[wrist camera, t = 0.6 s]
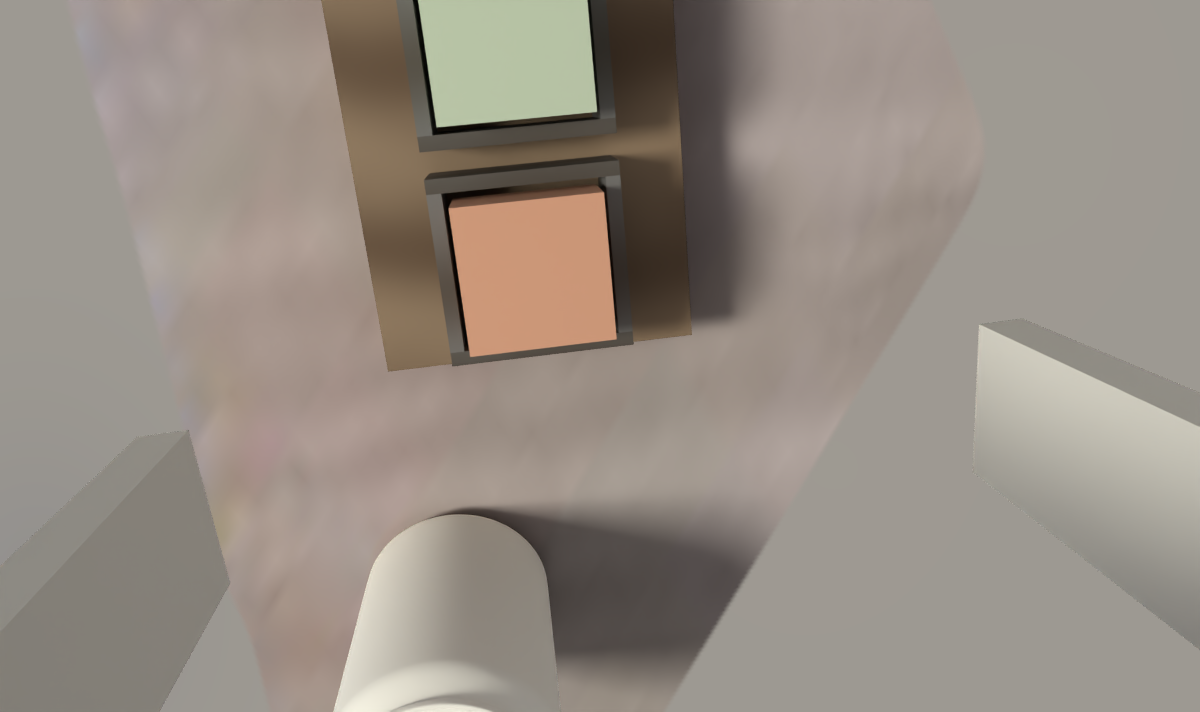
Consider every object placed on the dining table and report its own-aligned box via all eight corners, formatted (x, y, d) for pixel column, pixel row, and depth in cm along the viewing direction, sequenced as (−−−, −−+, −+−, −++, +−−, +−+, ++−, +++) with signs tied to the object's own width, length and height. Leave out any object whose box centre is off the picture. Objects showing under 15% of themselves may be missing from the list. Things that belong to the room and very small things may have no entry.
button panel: (278, -311, 27) (233, -396, 22) (639, -330, 28) (668, -414, 23) (395, 352, 34) (379, 393, 30) (678, 318, 35) (706, 353, 31)
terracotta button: (452, 198, 29) (448, 208, 26) (595, 183, 29) (604, 192, 27) (472, 336, 30) (470, 357, 28) (607, 319, 31) (616, 339, 28)
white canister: (505, 480, 37) (510, 653, 25) (572, 620, 39) (603, 834, 28) (337, 548, 37) (266, 752, 25) (415, 683, 39) (383, 923, 28)
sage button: (418, -39, 26) (410, -51, 24) (574, -51, 27) (581, -65, 24) (441, 124, 28) (436, 127, 25) (588, 110, 28) (596, 112, 26)
